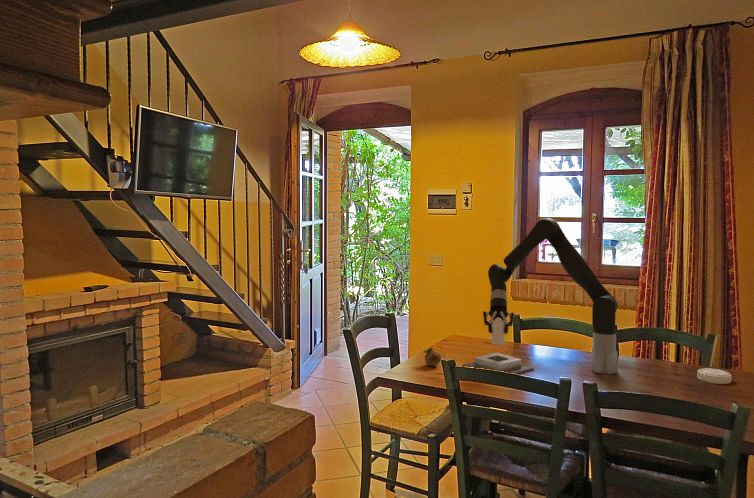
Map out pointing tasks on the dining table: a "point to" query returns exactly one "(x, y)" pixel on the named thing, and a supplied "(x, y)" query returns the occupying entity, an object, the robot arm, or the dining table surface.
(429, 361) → the onion
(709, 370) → the mooncake
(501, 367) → the socket
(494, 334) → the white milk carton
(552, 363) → the dining table surface
